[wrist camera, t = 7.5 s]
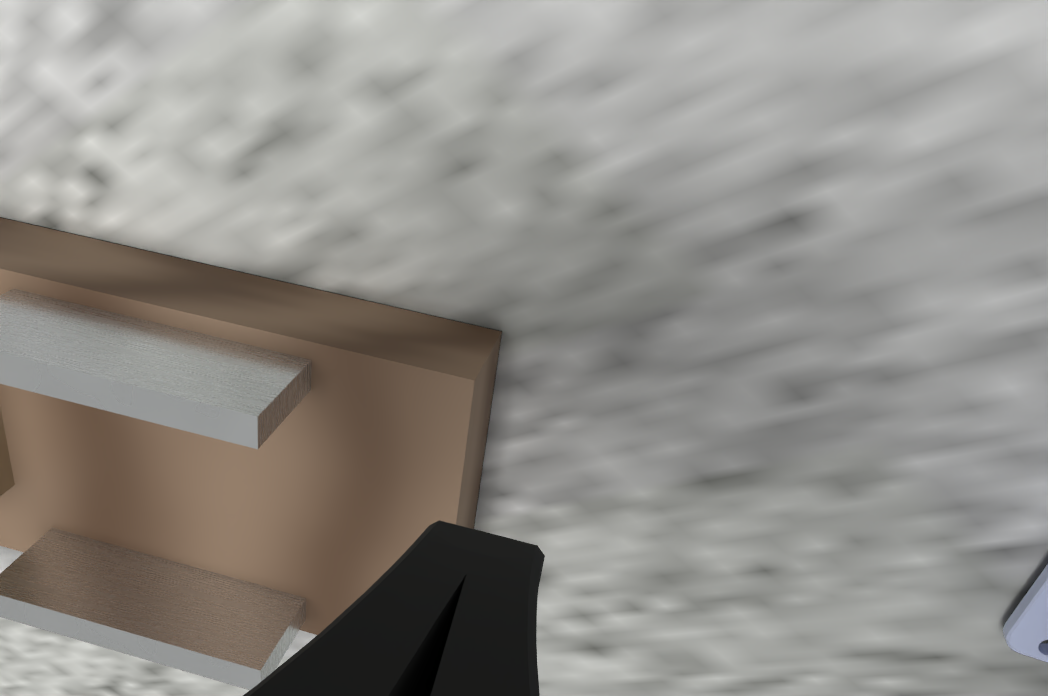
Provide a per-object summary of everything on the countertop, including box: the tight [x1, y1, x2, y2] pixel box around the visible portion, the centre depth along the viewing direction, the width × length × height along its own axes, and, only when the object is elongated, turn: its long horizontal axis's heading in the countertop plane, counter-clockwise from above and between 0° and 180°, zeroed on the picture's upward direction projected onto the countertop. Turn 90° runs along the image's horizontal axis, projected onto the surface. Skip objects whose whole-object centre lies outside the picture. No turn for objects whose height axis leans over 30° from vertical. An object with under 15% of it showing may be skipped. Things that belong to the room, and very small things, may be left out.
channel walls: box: [0, 289, 312, 690], centre depth 20 cm, size 8×8×2 cm
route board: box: [0, 218, 502, 635], centre depth 23 cm, size 25×9×2 cm, turn 81°
